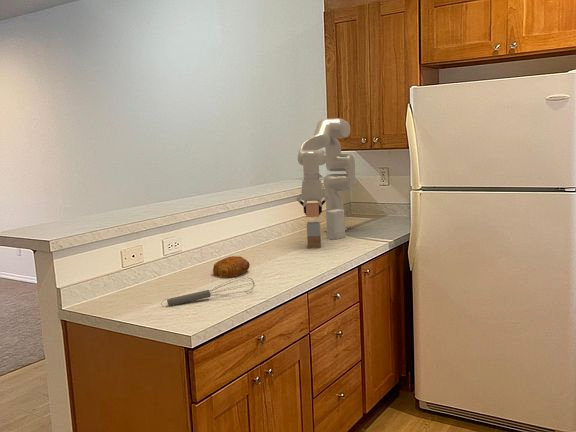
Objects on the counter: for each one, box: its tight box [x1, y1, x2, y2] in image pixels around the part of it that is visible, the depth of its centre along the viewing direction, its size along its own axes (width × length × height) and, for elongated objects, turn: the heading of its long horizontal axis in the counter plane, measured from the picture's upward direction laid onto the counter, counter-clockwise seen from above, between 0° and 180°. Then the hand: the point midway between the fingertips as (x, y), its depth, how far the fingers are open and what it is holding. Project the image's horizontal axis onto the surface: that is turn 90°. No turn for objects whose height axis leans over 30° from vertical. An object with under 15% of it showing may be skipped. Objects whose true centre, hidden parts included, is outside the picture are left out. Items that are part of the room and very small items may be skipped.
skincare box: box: [325, 209, 346, 241], centre depth 300 cm, size 8×6×15 cm
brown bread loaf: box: [212, 255, 251, 279], centre depth 237 cm, size 14×16×8 cm
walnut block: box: [306, 235, 322, 249], centre depth 281 cm, size 6×6×6 cm
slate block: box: [306, 221, 321, 237], centre depth 280 cm, size 6×6×6 cm
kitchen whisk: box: [161, 276, 256, 307], centre depth 202 cm, size 6×34×6 cm, turn 114°
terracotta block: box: [305, 202, 320, 218], centre depth 278 cm, size 6×6×6 cm
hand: (312, 214), depth 279 cm, fingers closed on terracotta block, 6 cm apart
